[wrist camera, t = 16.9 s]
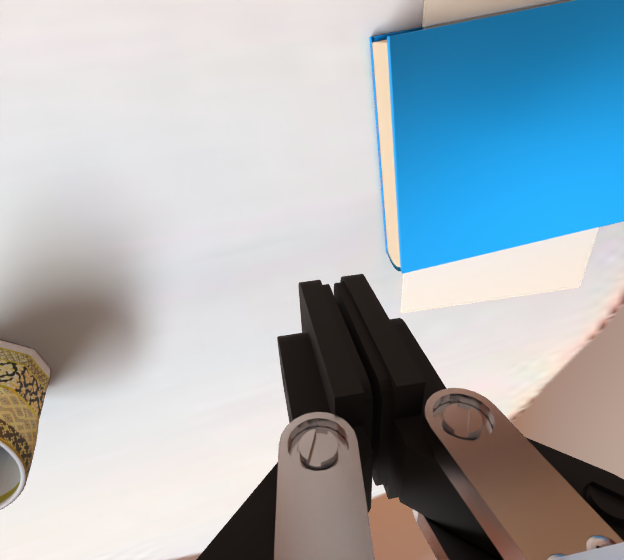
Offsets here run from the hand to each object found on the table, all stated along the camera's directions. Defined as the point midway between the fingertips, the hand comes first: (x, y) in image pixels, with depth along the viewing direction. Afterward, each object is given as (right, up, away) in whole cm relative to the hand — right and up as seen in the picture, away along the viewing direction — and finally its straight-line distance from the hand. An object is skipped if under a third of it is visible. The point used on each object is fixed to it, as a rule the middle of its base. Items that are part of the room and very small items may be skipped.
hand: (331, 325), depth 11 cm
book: (+17, +13, +22) cm, 31 cm away
